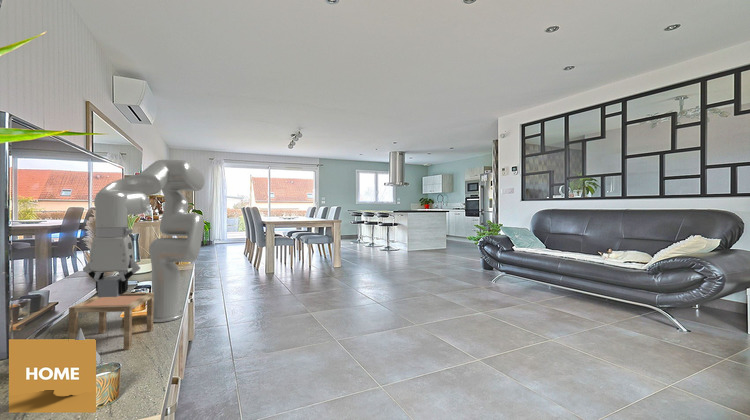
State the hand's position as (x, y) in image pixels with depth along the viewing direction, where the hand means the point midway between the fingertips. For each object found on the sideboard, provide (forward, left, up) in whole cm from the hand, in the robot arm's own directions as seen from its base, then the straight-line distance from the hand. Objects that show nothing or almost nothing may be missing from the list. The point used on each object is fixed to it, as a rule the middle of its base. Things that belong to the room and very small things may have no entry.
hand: (112, 292), depth 103 cm
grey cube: (0, 0, -1) cm, 1 cm away
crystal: (+18, +2, -19) cm, 26 cm away
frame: (-11, -5, -19) cm, 23 cm away
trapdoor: (-12, -5, -6) cm, 15 cm away
